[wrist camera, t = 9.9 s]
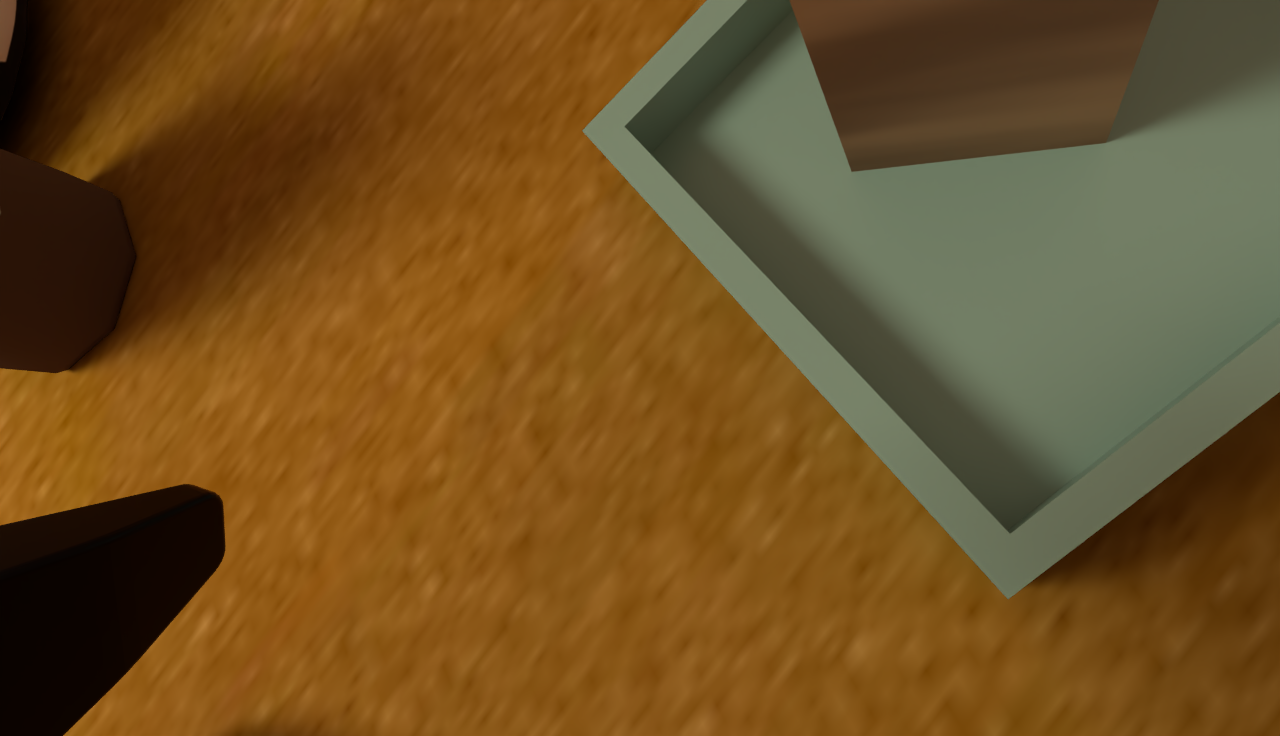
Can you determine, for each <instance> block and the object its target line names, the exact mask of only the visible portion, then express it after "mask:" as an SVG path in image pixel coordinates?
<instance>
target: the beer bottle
mask: <svg viewBox="0 0 1280 736" xmlns="http://www.w3.org/2000/svg"><path fill="white" fill-rule="evenodd" d="M135 258H136V255H135V251H134V248H133V245H132V241H131V238H130V234H129V231H128V228H127V224H126V221H125V217H124V214H123V211H122V207H121V204H120V200H119V199H118V198H117V197H116V196H115V195H114V194H113V193H112V192H110V191H107V190H105V189H103V188H100V187H98V186H95V185H93V184H91V183H88V182H86V181H84V180H81V179H79V178H77V177H74V176H72V175H69V174H67V173H65V172H62V171H60V170H57V169H54V168H52V167H49V166H46V165H43V164H41V163H38V162H35V161H32V160H30V159H27V158H24V157H21V156H19V155H16V154H13V153H11V152H8V151H5V150H2V149H0V368H5V369H16V370H27V371H38V372H49V373H58V372H62V371H65V370H68V369H69V368H70V367H71V366H73V365H74V364H75V363H76V362H77V361H78V360H79V359H81V358H82V357H83V356H84V355H85V354H86V353H87V352H88V351H90V350H91V349H92V348H93V347H94V346H95V345H96V344H97V343H99V342H100V341H101V340H102V339H103V338H104V337H105V336H107V335H108V334H109V333H110V332H111V331H112V330H113V329H114V328H115V324H116V321H117V318H118V314H119V311H120V308H121V304H122V301H123V298H124V295H125V291H126V288H127V285H128V281H129V278H130V275H131V271H132V268H133V265H134V262H135Z"/></svg>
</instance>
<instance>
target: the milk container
mask: <svg viewBox="0 0 1280 736" xmlns="http://www.w3.org/2000/svg"><path fill="white" fill-rule="evenodd" d="M27 1H28V0H0V121H1V119H2V117H3V115H4V113H5V111H6V109H7V106H8V104H9V102H10V99H11V97H12V93H13V90H14V86H15V82H16V78H17V74H18V69H19V66H20V62H21V58H22V55H23V51H24V47H25V42H26V35H27Z"/></svg>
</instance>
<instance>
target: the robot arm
mask: <svg viewBox="0 0 1280 736" xmlns="http://www.w3.org/2000/svg"><path fill="white" fill-rule="evenodd" d="M224 553H225V529H224V511H223V502H222V500H221V498H220V496H219V495H217V494H216V493H215V492H212V491H209V490H206V489H203V488H201V487H198V486H195V485H190V484H183V485H178V486H174V487H169V488H165V489H160V490H156V491H151V492H147V493H142V494H138V495H134V496H129V497H125V498H120V499H116V500H111V501H107V502H103V503H98V504H94V505H89V506H85V507H80V508H76V509H72V510H67V511H63V512H58V513H54V514H49V515H45V516H40V517H36V518H32V519H27V520H23V521H18V522H14V523H9V524H5V525H1V526H0V736H63V735H64V734H65V733H66V732H67V731H68V730H69V729H70V728H71V727H72V726H73V725H74V724H75V723H76V722H77V721H79V720H80V719H81V718H82V717H83V716H84V715H85V714H86V713H87V712H88V711H89V710H90V709H91V708H92V707H93V706H94V705H95V704H96V703H97V702H98V701H99V700H100V699H101V698H102V697H103V696H104V695H105V694H106V693H107V692H108V691H109V690H110V689H111V688H112V687H113V686H114V685H115V684H116V683H117V682H118V681H119V680H120V679H121V678H122V677H123V676H124V675H125V674H126V673H127V672H128V671H129V670H130V669H131V668H132V666H133V665H134V664H135V663H136V662H137V661H138V660H139V659H140V658H141V657H142V655H143V654H144V653H145V652H146V651H147V650H148V648H149V647H150V646H151V645H152V644H153V643H154V642H155V640H156V639H157V638H158V637H159V636H160V635H161V633H162V632H163V631H164V630H165V629H166V628H167V626H168V625H169V624H170V623H171V622H172V621H173V620H174V618H175V617H176V616H177V615H178V614H179V613H180V611H181V610H182V609H183V608H184V607H185V606H186V604H187V603H188V602H189V601H190V600H191V599H192V598H193V596H194V595H195V594H196V593H197V592H198V591H199V589H200V588H201V587H202V586H203V585H204V584H205V582H206V581H207V580H208V579H209V578H210V577H211V576H212V574H213V573H214V572H215V571H216V569H217V568H218V567H219V565H220V563H221V562H222V559H223V557H224Z"/></svg>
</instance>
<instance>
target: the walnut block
mask: <svg viewBox="0 0 1280 736" xmlns="http://www.w3.org/2000/svg"><path fill="white" fill-rule="evenodd" d="M1158 1H1159V0H790V3H791V6H792V9H793V11H794V14H795V17H796V20H797V22H798V25H799V28H800V31H801V33H802V36H803V39H804V42H805V44H806V47H807V50H808V53H809V56H810V58H811V61H812V64H813V67H814V69H815V72H816V75H817V78H818V80H819V83H820V86H821V89H822V91H823V94H824V97H825V100H826V102H827V105H828V108H829V111H830V113H831V116H832V119H833V122H834V125H835V127H836V130H837V133H838V136H839V138H840V141H841V144H842V147H843V149H844V152H845V155H846V158H847V160H848V163H849V166H850V169H851V171H852V172H856V171H865V170H873V169H882V168H891V167H900V166H909V165H917V164H926V163H935V162H944V161H953V160H962V159H970V158H979V157H988V156H997V155H1006V154H1014V153H1023V152H1032V151H1041V150H1050V149H1058V148H1067V147H1076V146H1085V145H1094V144H1102V143H1106V142H1107V139H1108V136H1109V134H1110V131H1111V128H1112V126H1113V123H1114V120H1115V117H1116V115H1117V112H1118V109H1119V107H1120V104H1121V101H1122V99H1123V96H1124V93H1125V90H1126V88H1127V85H1128V82H1129V80H1130V77H1131V74H1132V72H1133V69H1134V66H1135V63H1136V61H1137V58H1138V55H1139V53H1140V50H1141V47H1142V45H1143V42H1144V39H1145V36H1146V34H1147V31H1148V28H1149V26H1150V23H1151V20H1152V18H1153V15H1154V12H1155V9H1156V7H1157V4H1158Z"/></svg>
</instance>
